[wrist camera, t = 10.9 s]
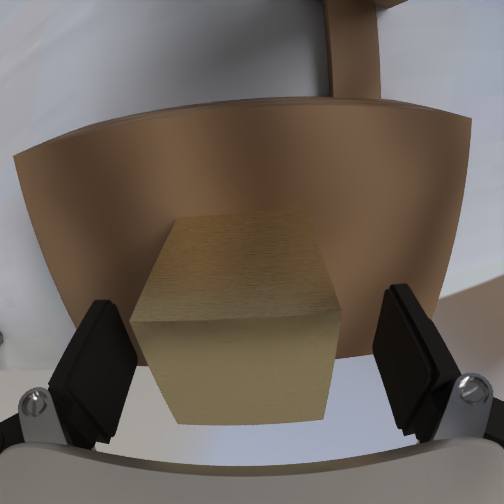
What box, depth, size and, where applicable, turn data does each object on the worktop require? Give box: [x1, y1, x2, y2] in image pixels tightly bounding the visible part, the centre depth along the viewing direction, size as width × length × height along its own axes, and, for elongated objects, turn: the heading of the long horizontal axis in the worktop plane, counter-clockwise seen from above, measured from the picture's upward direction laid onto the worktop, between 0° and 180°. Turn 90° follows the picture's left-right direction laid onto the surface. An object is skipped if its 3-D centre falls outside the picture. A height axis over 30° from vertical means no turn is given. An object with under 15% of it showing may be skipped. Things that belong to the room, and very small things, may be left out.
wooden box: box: [29, 0, 454, 149], centre depth 13 cm, size 20×22×12 cm
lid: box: [13, 103, 472, 425], centre depth 12 cm, size 20×13×8 cm, turn 94°
